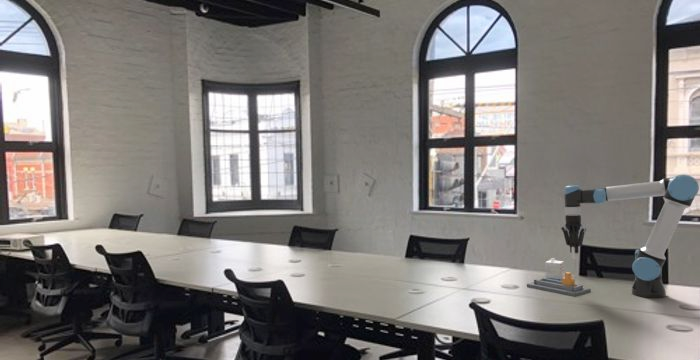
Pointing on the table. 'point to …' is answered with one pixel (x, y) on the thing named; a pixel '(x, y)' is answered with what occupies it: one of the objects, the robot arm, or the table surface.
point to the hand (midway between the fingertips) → (574, 258)
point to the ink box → (554, 269)
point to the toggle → (568, 280)
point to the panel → (558, 287)
